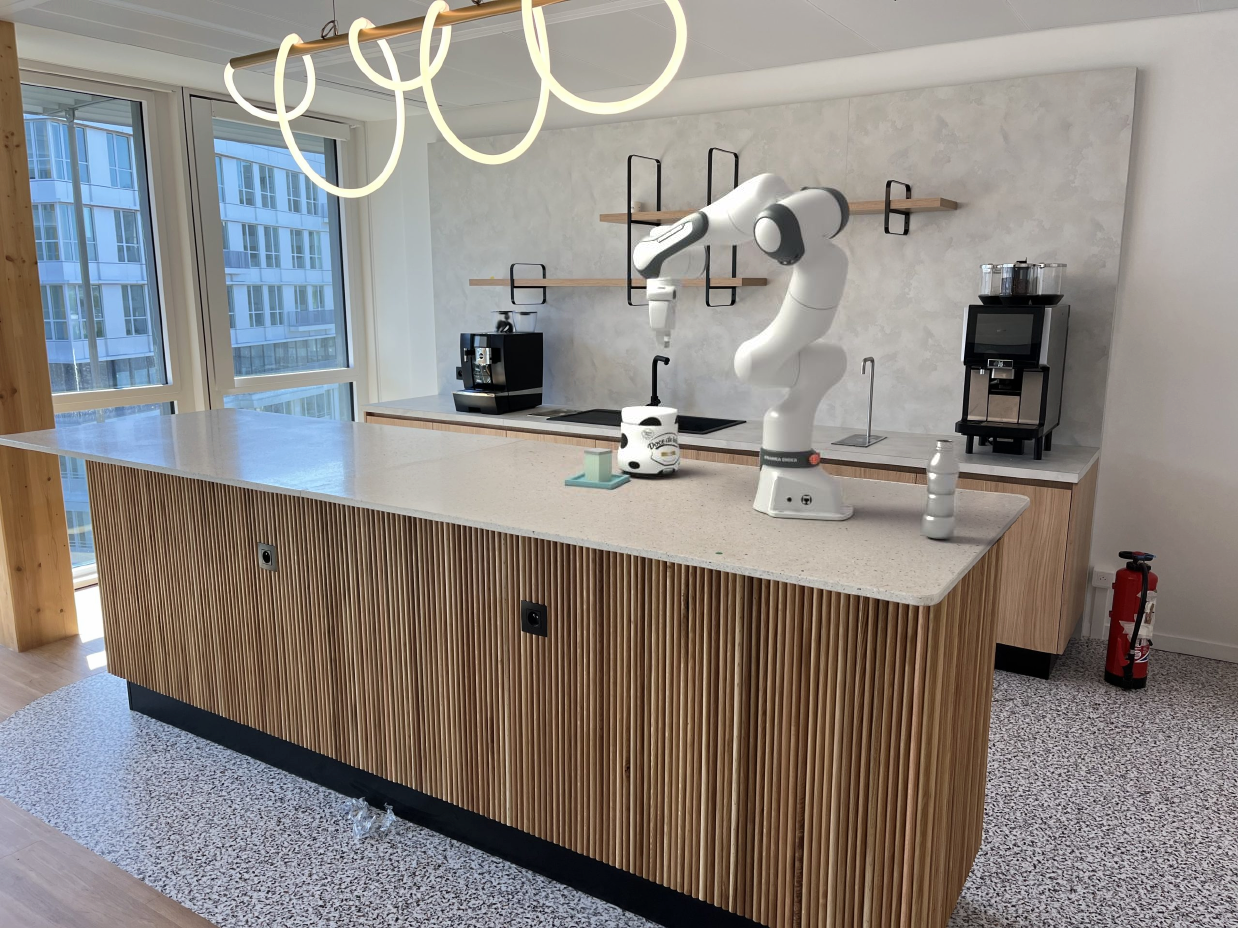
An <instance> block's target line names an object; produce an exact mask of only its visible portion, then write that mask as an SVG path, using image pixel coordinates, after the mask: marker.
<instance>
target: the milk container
mask: <svg viewBox="0 0 1238 928" xmlns="http://www.w3.org/2000/svg"><path fill="white" fill-rule="evenodd" d="M678 413H679V412H678V409H677V408H674V407H666V406H656V405H655V406H650V405H649V406H647V405H645V406H639V405H638V406H628V407H627V406H626V407H624V408H622V409H621V417H620V421H621V423H620V430H621V431H620V433H621V435H620V436H621V437H620V443H619V448H618V452H617V465H618V467H619V470H621V472H622V473H624V474H626V475H630V476H638V477H648V478H650V477H653V478H654V477H663V476H669V475H673V474H675V473H676V472H677V471H678V470H679V469H680V465H681V459H682V458H681V450H680V447H679V440H678V437H679V436H678V434H679V433H678V432H679V423H678V422H679V414H678Z"/></svg>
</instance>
